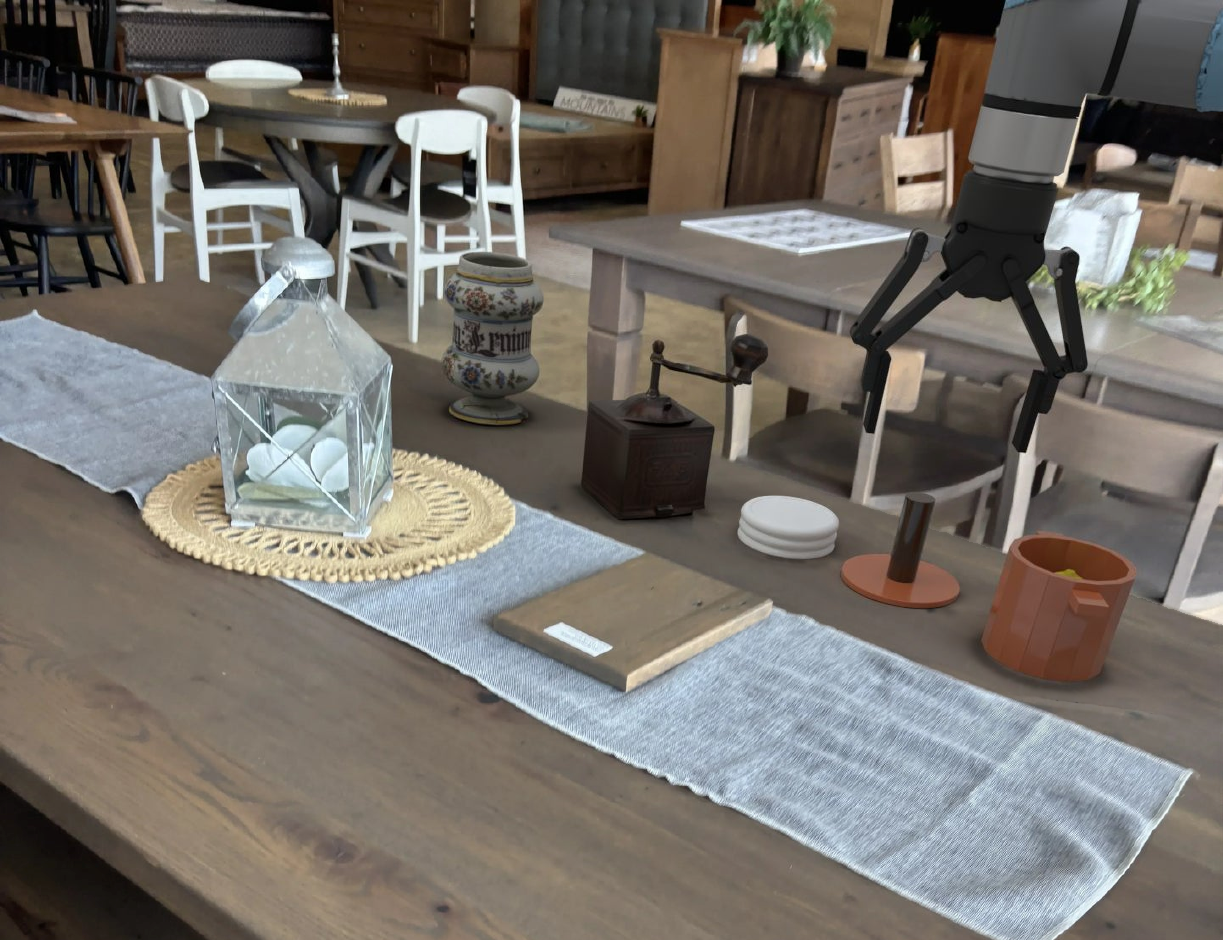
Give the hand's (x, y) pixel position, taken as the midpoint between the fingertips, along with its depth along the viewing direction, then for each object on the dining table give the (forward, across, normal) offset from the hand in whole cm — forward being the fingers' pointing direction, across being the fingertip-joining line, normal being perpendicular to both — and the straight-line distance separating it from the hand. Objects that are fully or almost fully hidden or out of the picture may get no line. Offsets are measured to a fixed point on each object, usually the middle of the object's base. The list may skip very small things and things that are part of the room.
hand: (943, 439), depth 108 cm
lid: (+14, 0, 0) cm, 14 cm away
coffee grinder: (+15, +24, -18) cm, 34 cm away
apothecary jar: (+16, +47, -41) cm, 64 cm away
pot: (+15, -11, +11) cm, 22 cm away
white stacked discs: (+15, +11, -9) cm, 21 cm away
